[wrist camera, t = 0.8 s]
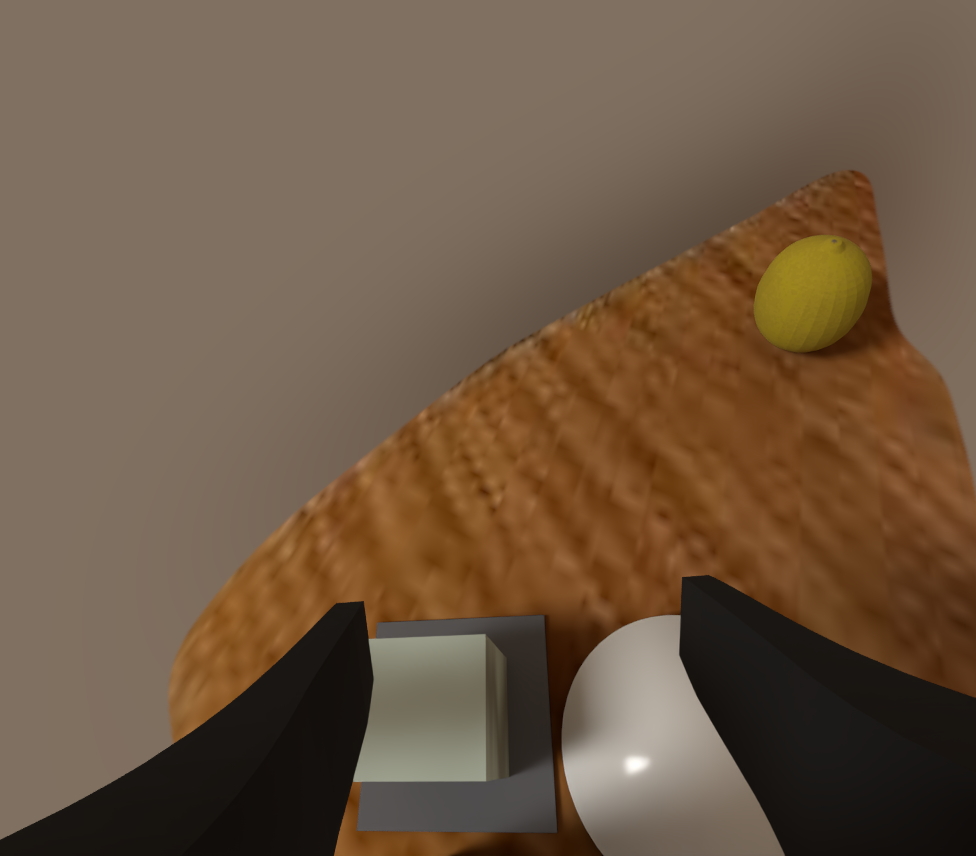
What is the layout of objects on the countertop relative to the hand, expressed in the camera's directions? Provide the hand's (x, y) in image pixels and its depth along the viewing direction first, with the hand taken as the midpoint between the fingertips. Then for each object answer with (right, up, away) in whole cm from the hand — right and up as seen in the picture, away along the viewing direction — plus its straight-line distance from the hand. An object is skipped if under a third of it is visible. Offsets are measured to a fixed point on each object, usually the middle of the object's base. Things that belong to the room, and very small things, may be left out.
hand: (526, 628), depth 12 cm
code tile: (-2, -10, +14) cm, 17 cm away
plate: (+8, -10, +12) cm, 17 cm away
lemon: (+18, +10, +22) cm, 30 cm away
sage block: (-2, -9, +14) cm, 17 cm away
